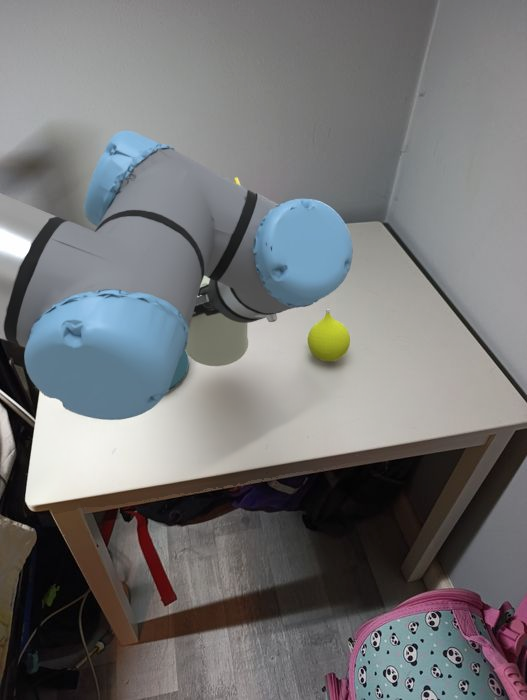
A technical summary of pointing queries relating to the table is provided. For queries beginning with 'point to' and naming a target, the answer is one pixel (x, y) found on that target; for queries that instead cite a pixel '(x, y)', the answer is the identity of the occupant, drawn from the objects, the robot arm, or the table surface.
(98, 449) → the table surface
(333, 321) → the ornament
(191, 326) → the can
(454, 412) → the table surface
